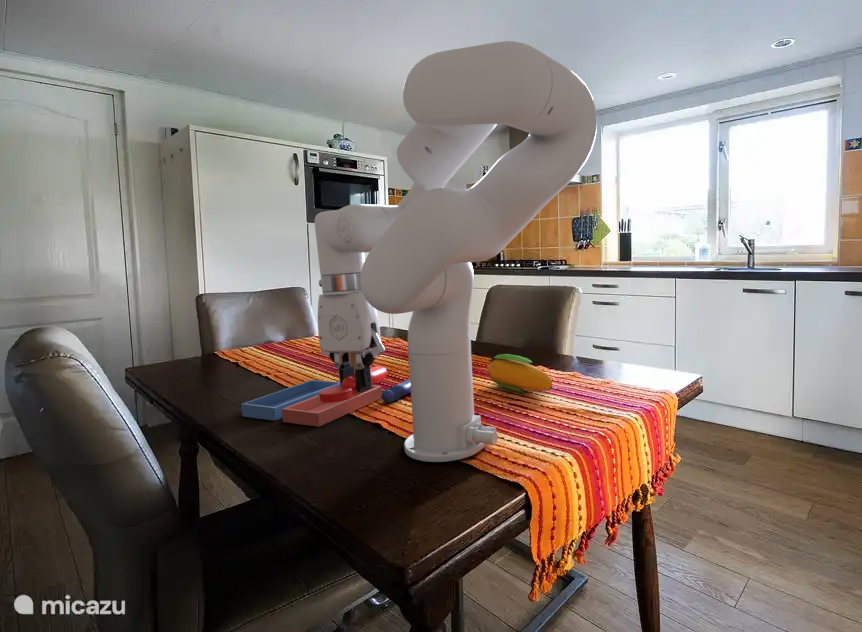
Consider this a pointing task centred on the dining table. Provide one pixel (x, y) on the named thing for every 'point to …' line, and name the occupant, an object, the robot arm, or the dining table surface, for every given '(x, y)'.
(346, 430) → the dining table surface
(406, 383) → the blue spoon
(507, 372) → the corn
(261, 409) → the blue tray
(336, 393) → the red spoon
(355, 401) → the rose tray
